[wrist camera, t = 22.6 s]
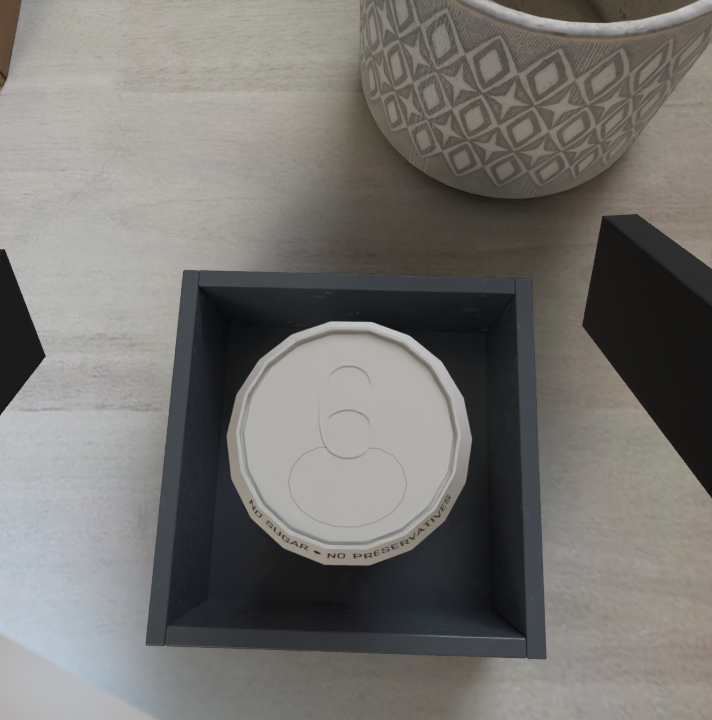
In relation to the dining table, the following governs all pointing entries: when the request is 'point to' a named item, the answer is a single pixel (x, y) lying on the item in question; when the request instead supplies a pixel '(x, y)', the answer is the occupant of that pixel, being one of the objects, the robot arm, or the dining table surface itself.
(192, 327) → the grey storage bin
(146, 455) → the dining table surface
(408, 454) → the supplement can
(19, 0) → the box
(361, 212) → the dining table surface
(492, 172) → the planter
